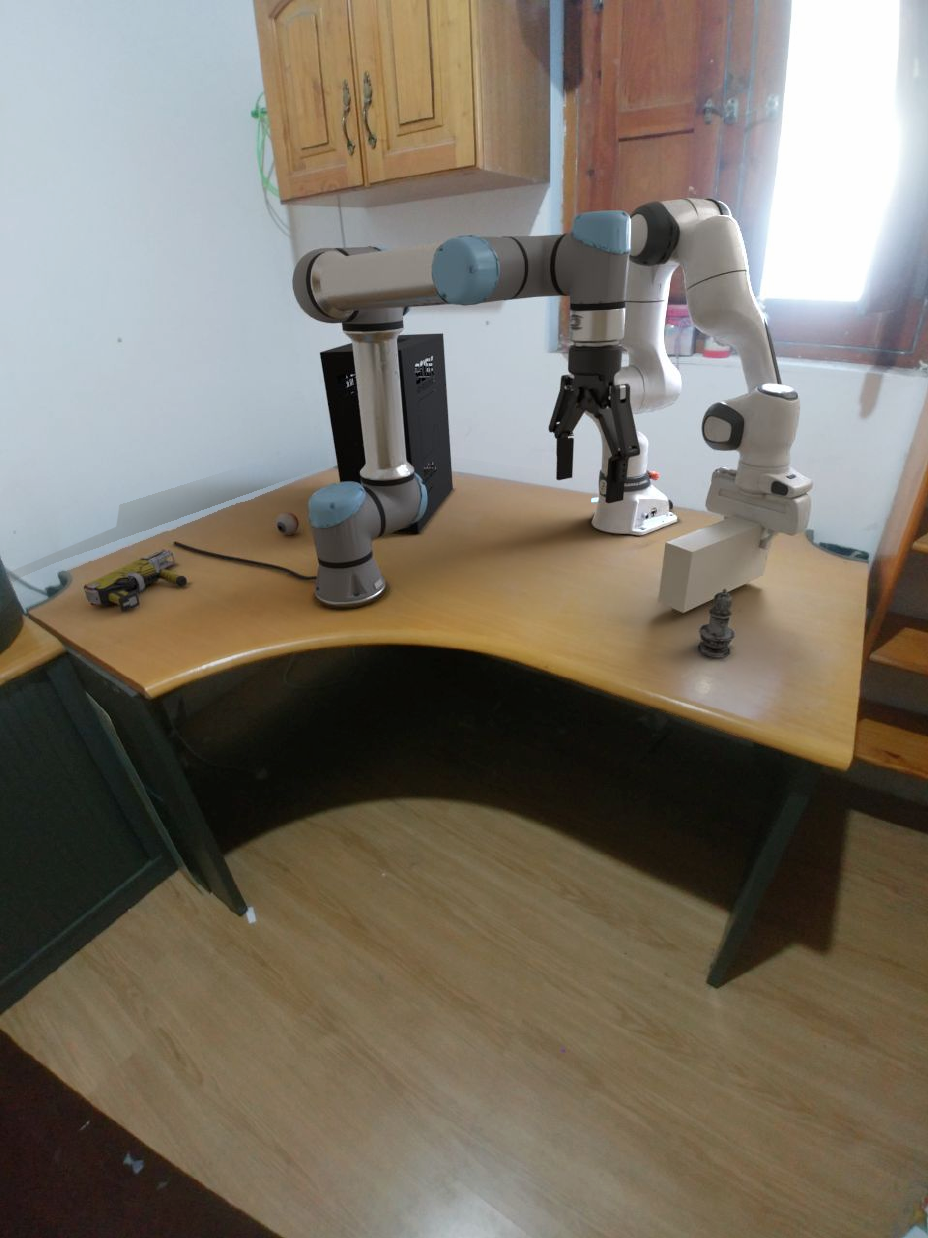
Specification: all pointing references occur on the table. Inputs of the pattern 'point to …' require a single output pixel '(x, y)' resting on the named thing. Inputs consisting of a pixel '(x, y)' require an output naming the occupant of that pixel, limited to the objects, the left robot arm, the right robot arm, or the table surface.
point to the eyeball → (287, 523)
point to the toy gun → (132, 581)
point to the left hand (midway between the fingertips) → (587, 489)
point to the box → (711, 562)
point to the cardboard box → (420, 415)
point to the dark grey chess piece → (717, 628)
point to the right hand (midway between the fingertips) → (747, 542)
